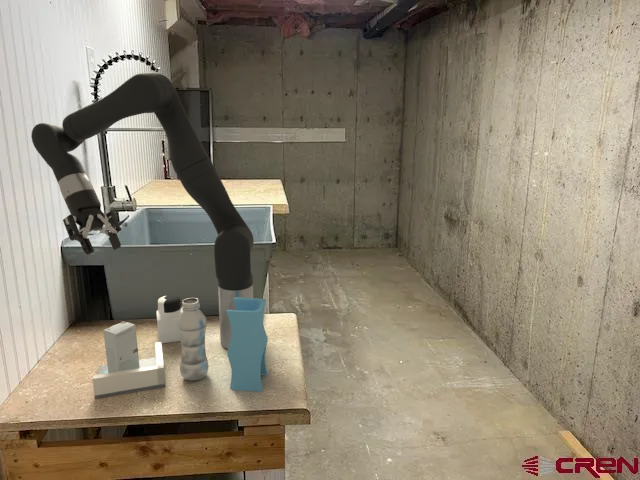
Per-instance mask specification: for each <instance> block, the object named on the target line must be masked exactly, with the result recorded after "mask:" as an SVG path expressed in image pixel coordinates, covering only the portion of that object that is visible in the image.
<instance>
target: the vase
mask: <svg viewBox="0 0 640 480" xmlns="http://www.w3.org/2000/svg"><path fill="white" fill-rule="evenodd" d="M266 302H267V301H266V299H264V298H260V297H253V298H240V297H234V304H235V309H236V310H227V311H226V313H227V315H228V318H229V321H230V325H231V340H230V345H229V348H228V349H227V355H226V356H227V359H228V362H229V365H230V370H231V378H230V385H229V389H230V390H232V391H240V392H241V391H244V392H259V393H260V392H263V391H264V388H263V383H262V376H268V375H269V372H268V368H267V364H266V353H267V352H266V351H267V346H268V341H269V340H268V338H269V337H268V335H267V333H266V330H265V325H264V314H265V312H264V311H265V307H266Z"/></svg>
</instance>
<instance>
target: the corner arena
mask: <svg viewBox="0 0 640 480" xmlns="http://www.w3.org/2000/svg"><path fill="white" fill-rule="evenodd" d="M154 345H155V357H150V358H143V359H139V367H140V368H138V369H131V370H125V371H119V372H112V373H108V367H107V364H105V365H103V364H102V365H99V366H98V369H97V370H98V371H97V374H94V375H92V385H93V394H94V399H101V398H107V397H113V396H118V395H125V394H129V393H135V392H141V391H148V390H152V389H154V390H155V389H158V388H160V389H161V388H165V387H166V379H165V367H164V366H165V365H164V357H163V356H164V355H163V346H162V344H161V342H159V341H158V342H154Z"/></svg>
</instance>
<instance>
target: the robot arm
mask: <svg viewBox="0 0 640 480" xmlns="http://www.w3.org/2000/svg"><path fill="white" fill-rule="evenodd" d="M153 113H154V115H155V117H156V118H157V120H158V121H159V123H160V125H161V126H162V128H163V131H164V133H165V136H166V139H167V143H168V144H167V145H168V150H169V151H168V152H169V157H170V162H171V166H172V168H173V170H174V173H175V174H176V176H177V178H178V180H179V182H180V183H181V185H182V187H183V188H184V190H185V191H186V193H187V194H188V195H189V197H191V198H192V199H193V201H195V202H196V204H198V206H200V208H202V209H203V211H204V212H205V213H206V215H207V216H208V217H209V219H210V221H211V222H212V225H213V226H214V230H215V231H216V233H217V236H216V238H215V240H214V245H213V252H214V253H213V254H214V255H213V256H214V257H213V258H214V267H215V268H214V269H215V276H216V279H217V286H218V287H217V291H218V314H219V317H218V318H219V333H220V335H219V338H220V339H219V341H220V345H221V347H223V348H224V349H227V350H228V348H229V345H230V340H231V325H230V321H229V318H228V315H227V313H226V311H227V310H236V309H235V304H234V297H240V298H254V276H253V273H252V269H251V267H252V265H251V251H252V248H253V247H254V236H253V233H252V231H251V229H250V227H249V226H248V224H247V223H246V221H244V218H243V217H242V216H241V214H240V213H239V211H238V210H237V209H236V207H235V205H234V203H233V202H232V200H231V198H230V196H229V194H228V191H227V190H226V188H225V185H224V183H223V182H222V179H221V177H220V176H219V173H218V171H217V169H216V167H215V165H214V164H213V162H212V160H211V158H210V156H209V155H208V153H207V151H206V149H205V148H204V146H203V144H202V142H201V140H200V138H199V137H198V135H197V133H196V131H195V129H194V127H193V126H192V124H191V122H190V120H189V117H188V115H187V114H186V111H185V108H184V106H183V104H182V101H181V99H180V96H179V93H178V92H177V89H176V87H175V84H173V82H172V81H171V79H170V78H169V77H168V76H167V75H165V74H164V73H161V72H157V71H151V72H149V71H148V72H140V73H136V74H134V75H132V76H131V77H130V78H128V79H127V80H126V81H124V82H123V83H122V84H120V85H119V86H118V87H117V88H115V90H113V91H112V92H110V93H109V94H107V95H106V96H104V97H103V98H100V99H99V100H97V101H94V102H93V103H90V104H89V105H85V106H84V107H82V108H80V109H78V110H76V111H73V112H72V113H69V114H68V115H67V116H65V117H64V118H63V120H62V125H59V124H52V123H49V122H48V123H47V122H42V123H41V122H39V123H38V124H36V125H35V126H34V127H32V130H31V135H30V136H31V142H32V144H33V147H34V149H35V150H36V151H37V152H38V154H39V155H40V157H41V158H42V159H43V160H44V161H45V163H46V164H47V165H48V166H49V167H50V169H51V170H52V171H53V175H54V177H55V180H56V182H57V183H58V188H59V191H60V193H61V195H62V198H63V200H64V202H65V204H66V207H67V209H68V211H69V215H67V216H66V217H64V218H63V219H62V221H63V225H64V227H65V230H66V232H67V235H68V238H69V240H71V241H77V242H78V243H79V244H80V245H81V249H82V250H83V252H84V253H85V254H86V255H87V256H90V255H92V254H93V253H95V250H94V247H93V245H92V242H91V240H90V239H89V238H88V236H89V235H88V234H89V232H93V231H94V232H100V233H103V234H105V235H106V236H107V237H108V241H109V242H110V245H111V247H112V249H113V250H114V251H115V250H116V251H117V250H118V249H120V248H121V246H122V243H121V241H120V238H119V236H118V233H120V232H121V231H122V227H121V225H120V223H119V221H118V219H117V218H116V215H115V213H114V212H113V211H112V210H110V211H108V212H105V213H104V212H103V211H102V208H101V207H102V203H101V202H100V200H99V197H98V195H97V193H96V190H95V189H94V186H93V183H92V182H91V180H90V179H89V177H88V175H87V172H86V170H85V169H84V166H83V165H82V162H81V160H80V159H79V158H78V156H76V155H74V154H71V153H70V152H73V151H74V150H76V149H77V148H78V147H80V146H81V144H83V143H84V142H85V140H88V139H90V138H93V137H95V136H97V135H98V134H101V133H102V132H104V131H106V130H108V129H109V128H110V127H112V126H113V125H115V123H117V122H119V121H121V120H124V119H126V118H129V117H133V116H138V115H141V114H153ZM77 225H78V226H79V227H78V226H77Z"/></svg>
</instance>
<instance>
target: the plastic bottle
mask: <svg viewBox="0 0 640 480" xmlns="http://www.w3.org/2000/svg"><path fill="white" fill-rule="evenodd" d="M181 301H182V302H181V305H182V306H181V308H182V309H183V312H182V314H181V315H180V317H179V319H178V329H179V333H180V338H181V341H180V347H181V353H180V357H181V359H180V364H179V371H180V376H181V377H182V378H183V379H184V380H186V381H189V382H195V381H199V380H202V379H204V378H205V377H206V375H208V371H209V367H210V365H209V361H208V357H207V351H206V331H207V317H206V315H205V314H204V313H203V312H202V311H201V310H200V308H201V306H200V300H199V298H197V297H189V298H188V297H187V298H185V299H183V300H181Z"/></svg>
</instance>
